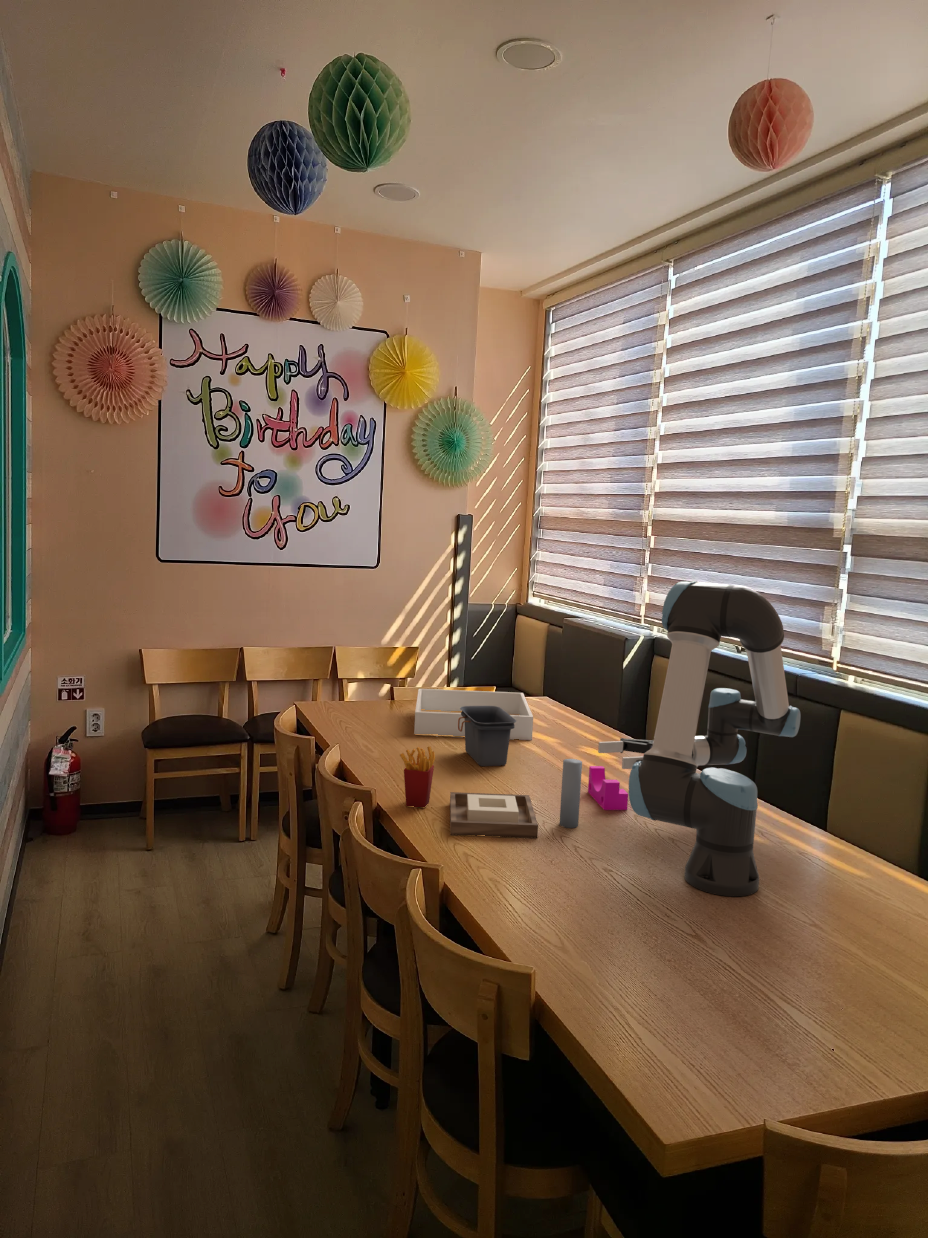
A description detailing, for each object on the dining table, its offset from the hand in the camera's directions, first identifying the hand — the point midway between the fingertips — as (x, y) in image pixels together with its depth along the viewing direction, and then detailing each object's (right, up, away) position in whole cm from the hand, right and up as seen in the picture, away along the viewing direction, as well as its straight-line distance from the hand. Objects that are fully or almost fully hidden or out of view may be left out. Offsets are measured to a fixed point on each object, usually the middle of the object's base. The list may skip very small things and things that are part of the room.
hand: (610, 755), depth 224 cm
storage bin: (-31, -9, +54) cm, 63 cm away
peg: (-10, -17, -1) cm, 20 cm away
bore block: (-29, -16, -1) cm, 34 cm away
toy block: (+2, -15, +19) cm, 25 cm away
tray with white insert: (-29, -16, -1) cm, 34 cm away
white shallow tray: (-34, -4, +99) cm, 104 cm away
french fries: (-49, -14, +10) cm, 52 cm away
